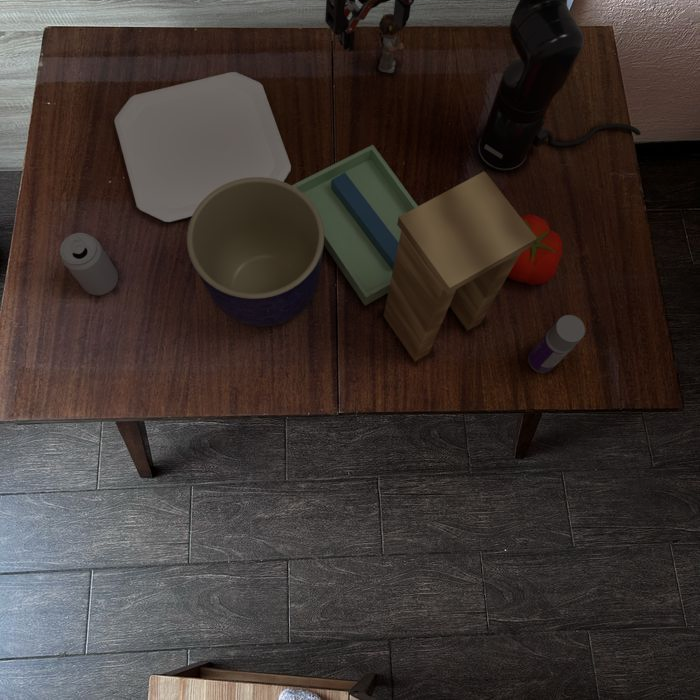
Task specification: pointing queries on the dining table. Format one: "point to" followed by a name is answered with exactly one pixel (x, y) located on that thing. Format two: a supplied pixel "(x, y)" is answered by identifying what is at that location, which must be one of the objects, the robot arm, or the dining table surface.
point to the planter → (257, 249)
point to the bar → (365, 217)
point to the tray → (342, 230)
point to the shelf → (452, 260)
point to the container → (556, 343)
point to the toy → (389, 42)
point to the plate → (197, 142)
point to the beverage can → (89, 263)
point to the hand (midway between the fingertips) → (373, 35)
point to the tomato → (538, 254)
